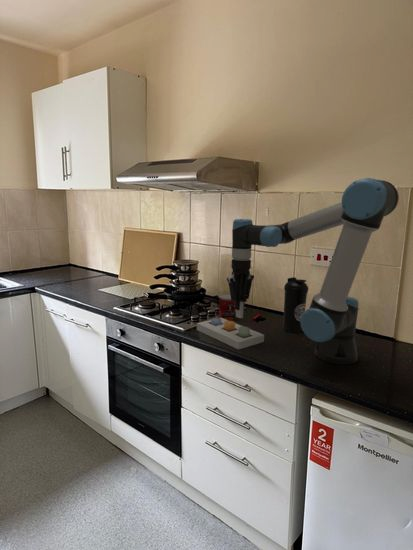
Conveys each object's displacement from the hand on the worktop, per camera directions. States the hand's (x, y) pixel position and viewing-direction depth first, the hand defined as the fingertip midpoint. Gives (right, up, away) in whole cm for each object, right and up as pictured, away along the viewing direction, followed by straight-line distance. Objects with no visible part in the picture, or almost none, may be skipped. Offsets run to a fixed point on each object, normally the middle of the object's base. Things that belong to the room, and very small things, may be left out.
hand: (239, 317), depth 156 cm
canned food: (-4, -4, +27) cm, 28 cm away
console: (-4, -8, +6) cm, 11 cm away
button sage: (+2, -8, -1) cm, 8 cm away
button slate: (-9, -6, +12) cm, 16 cm away
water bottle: (+25, -8, +16) cm, 31 cm away
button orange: (-4, -6, +5) cm, 9 cm away
